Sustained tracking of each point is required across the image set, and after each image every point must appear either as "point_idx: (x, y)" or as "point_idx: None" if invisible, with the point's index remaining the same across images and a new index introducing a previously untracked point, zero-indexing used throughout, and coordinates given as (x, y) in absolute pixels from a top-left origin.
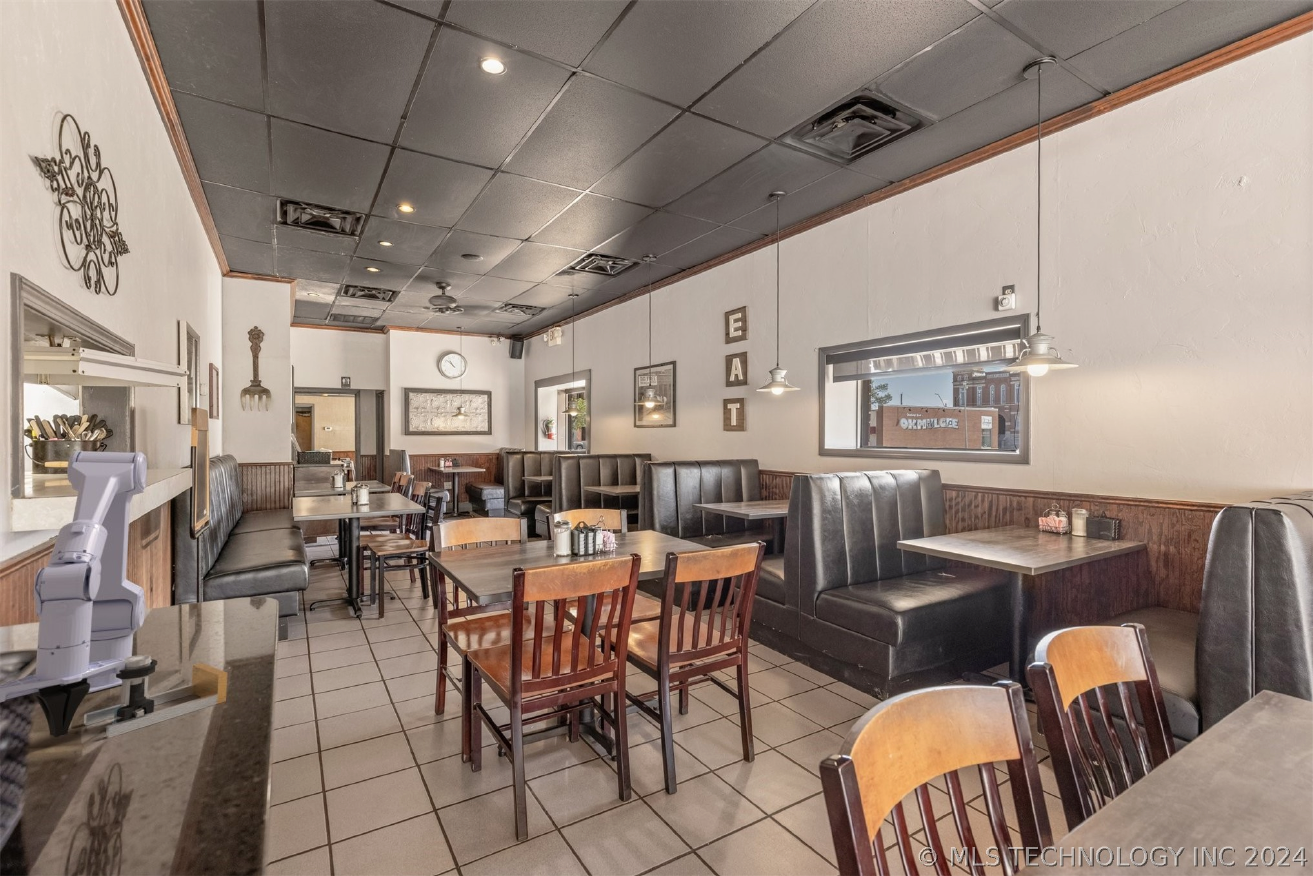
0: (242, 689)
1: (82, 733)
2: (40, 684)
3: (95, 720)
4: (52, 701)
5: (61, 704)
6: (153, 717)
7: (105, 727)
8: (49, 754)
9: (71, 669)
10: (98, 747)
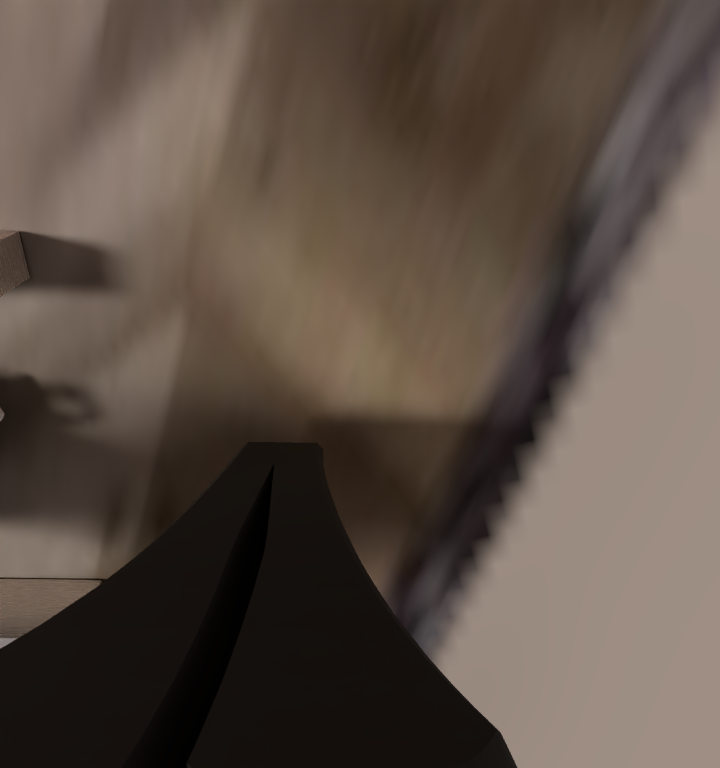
0: None
1: (144, 481)
2: None
3: (41, 591)
4: (410, 714)
5: (279, 642)
6: None
7: (3, 412)
8: (399, 289)
9: None
10: (115, 88)
